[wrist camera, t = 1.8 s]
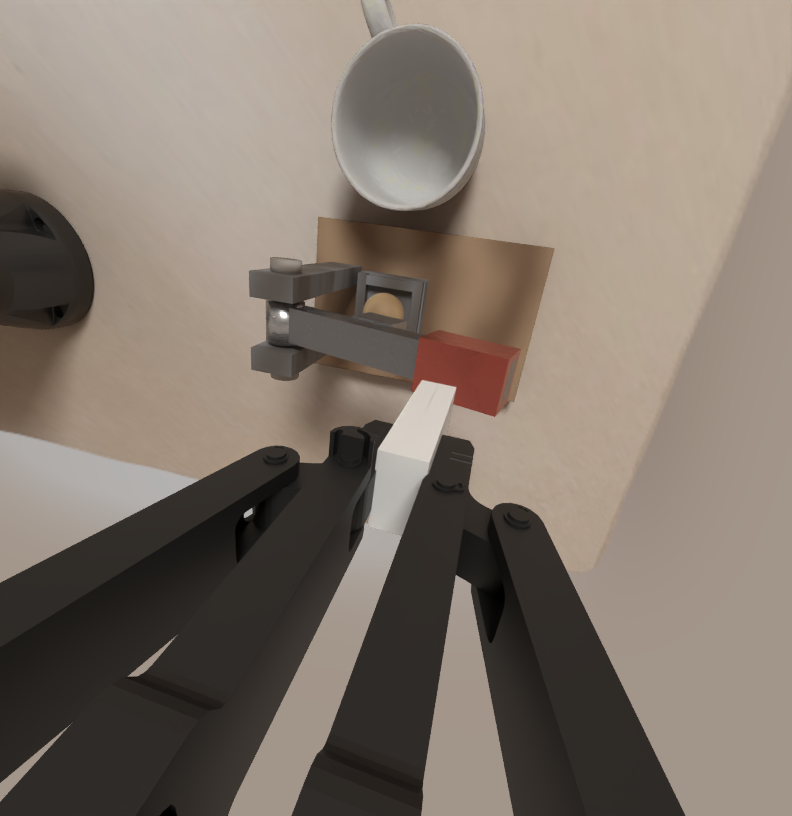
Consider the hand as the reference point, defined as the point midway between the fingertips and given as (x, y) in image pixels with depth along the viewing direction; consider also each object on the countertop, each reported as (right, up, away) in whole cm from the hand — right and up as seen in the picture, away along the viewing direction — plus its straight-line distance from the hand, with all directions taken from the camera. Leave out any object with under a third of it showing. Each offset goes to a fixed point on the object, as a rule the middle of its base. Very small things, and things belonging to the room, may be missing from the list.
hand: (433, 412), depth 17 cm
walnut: (-3, +8, +17) cm, 20 cm away
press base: (+1, +10, +22) cm, 24 cm away
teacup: (+1, +24, +17) cm, 29 cm away
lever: (-2, +5, +10) cm, 12 cm away
